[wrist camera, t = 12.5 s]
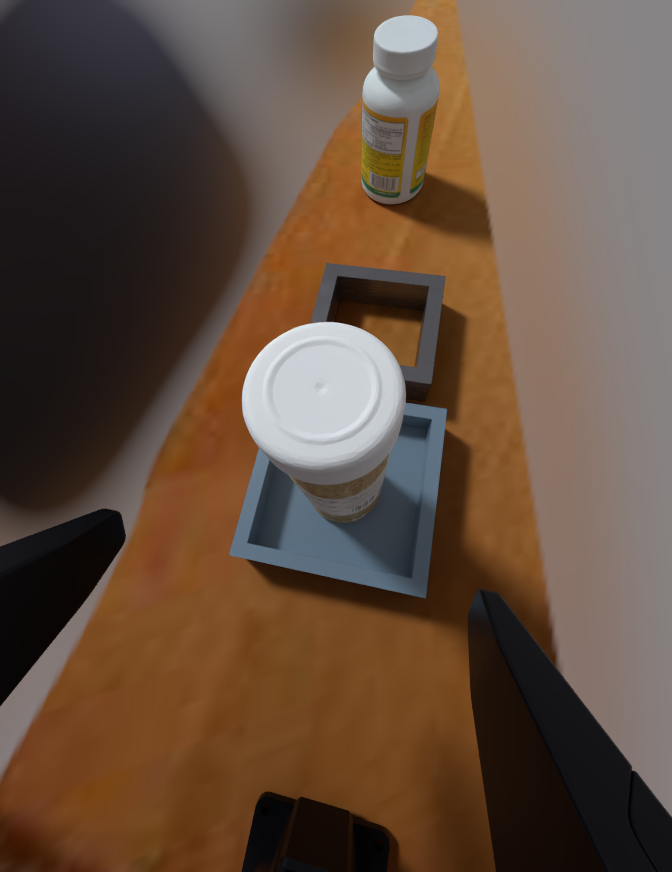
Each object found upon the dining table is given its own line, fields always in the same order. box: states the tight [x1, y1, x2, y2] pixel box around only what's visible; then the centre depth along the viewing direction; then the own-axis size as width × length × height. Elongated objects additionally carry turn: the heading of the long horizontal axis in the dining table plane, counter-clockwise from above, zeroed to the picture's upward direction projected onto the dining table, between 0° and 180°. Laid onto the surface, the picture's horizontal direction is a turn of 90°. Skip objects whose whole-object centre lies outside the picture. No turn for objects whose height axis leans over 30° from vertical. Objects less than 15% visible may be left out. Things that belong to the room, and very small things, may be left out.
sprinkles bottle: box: [242, 322, 406, 523], centre depth 16 cm, size 5×5×14 cm
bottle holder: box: [311, 263, 446, 401], centre depth 25 cm, size 8×8×2 cm
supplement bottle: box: [362, 16, 439, 204], centre depth 27 cm, size 5×5×10 cm
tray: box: [229, 403, 447, 598], centre depth 22 cm, size 11×11×2 cm
